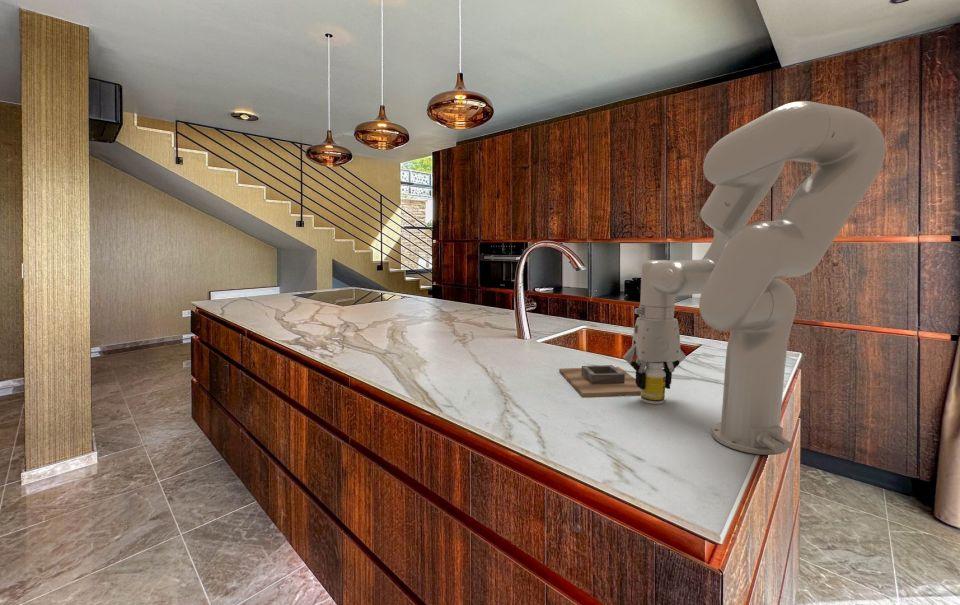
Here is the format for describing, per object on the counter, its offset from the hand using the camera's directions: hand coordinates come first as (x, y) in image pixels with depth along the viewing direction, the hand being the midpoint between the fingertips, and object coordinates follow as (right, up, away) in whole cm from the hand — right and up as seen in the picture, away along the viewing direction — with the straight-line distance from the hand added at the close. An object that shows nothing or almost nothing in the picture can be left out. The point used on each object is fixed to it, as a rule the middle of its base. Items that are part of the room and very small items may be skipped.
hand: (653, 386), depth 108 cm
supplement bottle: (0, -4, 0) cm, 4 cm away
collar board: (-8, -2, +15) cm, 17 cm away
